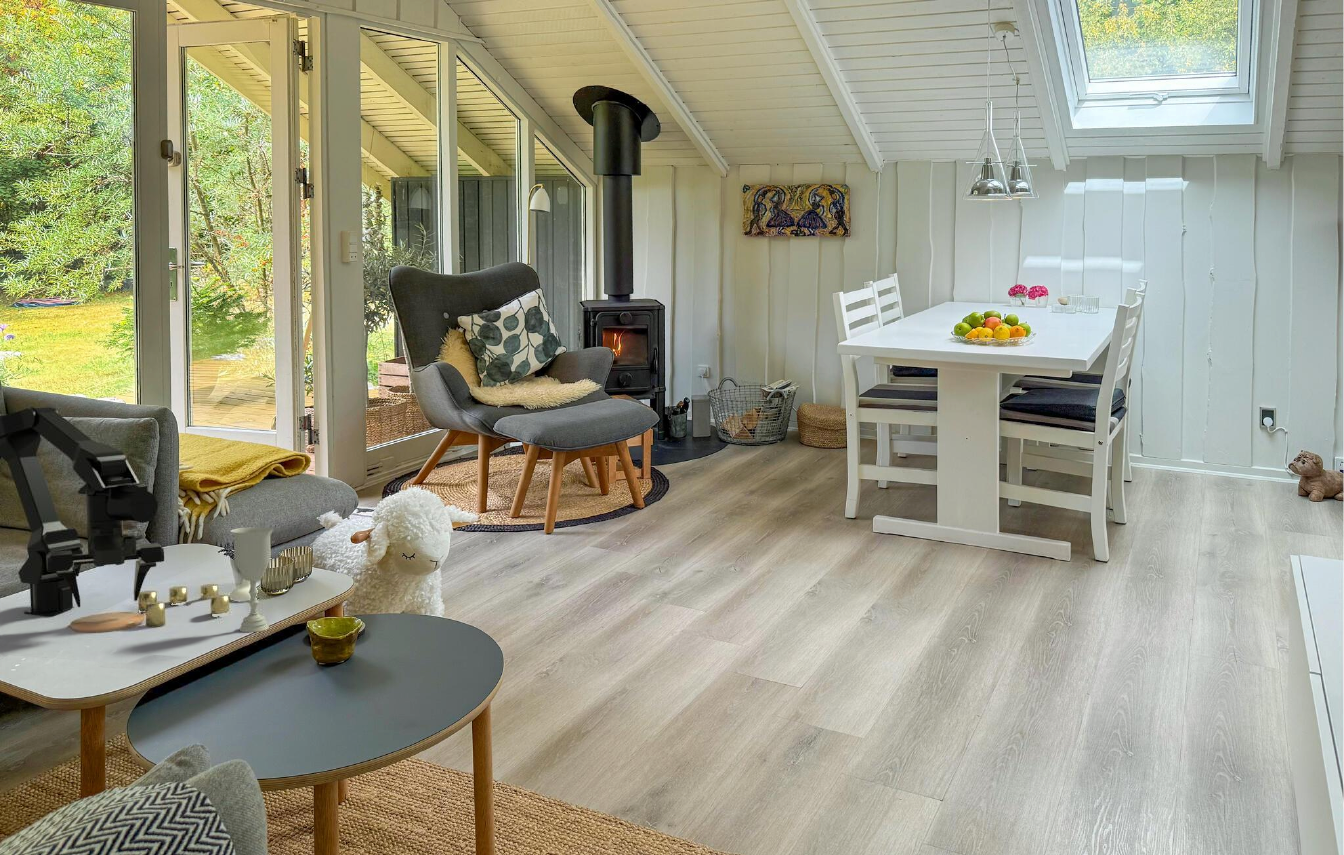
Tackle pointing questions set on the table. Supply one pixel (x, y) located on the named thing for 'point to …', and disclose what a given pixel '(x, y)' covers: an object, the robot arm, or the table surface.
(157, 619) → the spacer field
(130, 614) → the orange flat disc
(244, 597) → the cream white mushroom
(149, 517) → the robot arm
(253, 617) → the chalice
